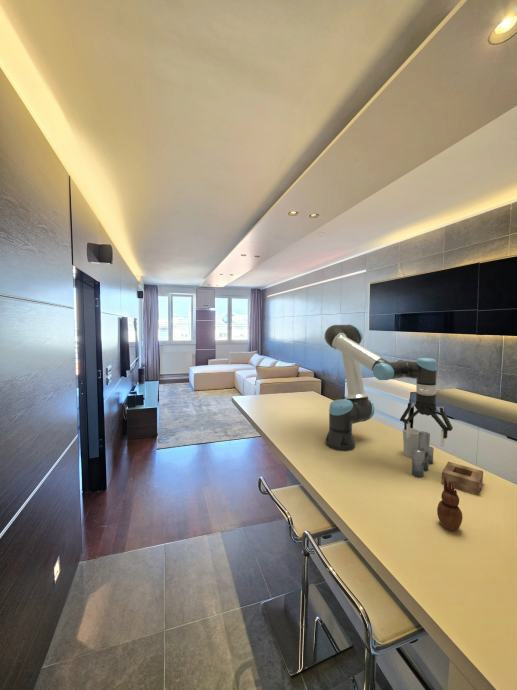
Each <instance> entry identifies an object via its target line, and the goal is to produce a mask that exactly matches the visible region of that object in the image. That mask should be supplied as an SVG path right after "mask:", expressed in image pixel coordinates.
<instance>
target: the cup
mask: <svg viewBox="0 0 517 690" xmlns="http://www.w3.org/2000/svg"><path fill="white" fill-rule="evenodd" d="M420 431H421V430H419V429H417V428H412V427H410V437H409V438H406V430H405V429H404V428H403V429H402V438H403V439H402V441H403V454H404V456H406V457H409V458H412V454H413V448H418V434H419V432H420Z"/></svg>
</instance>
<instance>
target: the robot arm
mask: <svg viewBox="0 0 517 690" xmlns="http://www.w3.org/2000/svg"><path fill="white" fill-rule="evenodd" d="M363 337H364V336H363V332H362V330H361V328H360V327H358V326H357V325H354V324H334V325H333V324H332V325H331V326H329V327H327V329H326V330H325V333H324V340H325V342H326V344H327V345H328V346H329V347H330V348H332V349H334V350H338V351H340V353H341V355H342V362H343V369H344V375H345V380H346V388H347V396H346V397H345V398H342V399H335V400H333V401H331V402H330V404H329V408H328V412H329V413H328V419H329V423H328V425H329V426H328V432H327V434H326V438H325V446H326V447H328V448H329V449H332V450H336V451H340V452H341V451H343V452H347V451H351V450H354V449H355V448H356V440H355V438H354V435H353V424H358V423H362V422H363V423H364V422H366V421H370V419H372V418H373V416H374V414H375V406H374V403H373V402H372V400H370V399H369V396H368V395H367V394H366V392H365V390H364V381H363V376H362V370H361V365H362V366H363V367H365V368H367V369H368V370H370V371H371V372H372V374H373V375H374V377H375V379H377V380H379V381H389V380H394V379H401V378H410V379H416V384H415V385H416V386H415V387H416V389H415V390H416V395H415V402H412V401H409V402H408V403H407V407H406V409H405V410H404V412H403V414H402V415H401V417H400V419H399V421H400V422H403V429H405V430H406V438H409V437H410V428H411V422H410V421H411V420H412V419H413V418H414V417H416V416H417V415H418V414H420V415H425V416H427V417H428V416H431V418H433V419H434V421H435V422H436V423H437V424H438V425H439V427H440V428H441V431H440V432H441V433H440V447H444V445H445V440H446V439H447V438H448V432H451V431H453V425H452V424H451V421H450V420H449V418H448V415H447V414H446V412H445V411H446V410H445V407H444V406H437V395H436V394H437V371H438V367H437V360H436V359H435V358H431V357H419V358H417V359H416V361H411V360H409V361H408V360H402V359H398V360H397V359H396V360H393V361H388V360H386V359H385V358H383V357H381V356H379V355H378V354H376V353H375V352H373V351H371V350H370V349H368V348H366V347H364V346H362V345H360V344H361V343H362V340H363ZM412 408H415V409H416V410H415V411H414V412H413V413H412V414H411V415H409V417H407V416H408V414H409V413H410V412H411V409H412ZM436 411H438V413H440V415H441V418H442V419H443V420H442V419H441V418H440V417H439V415H438V414H437V412H436Z"/></svg>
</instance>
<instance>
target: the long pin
mask: <svg viewBox="0 0 517 690" xmlns="http://www.w3.org/2000/svg"><path fill="white" fill-rule="evenodd" d="M419 431H420V432H419V434H418V448H421V449H423V450H424V451H425V452H424V472H427V471H429V466H430V464H429V446H430V443H431V442H430V441H431V433H429V432H427V431H422V430H419Z"/></svg>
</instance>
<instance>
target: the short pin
mask: <svg viewBox="0 0 517 690" xmlns="http://www.w3.org/2000/svg"><path fill="white" fill-rule="evenodd" d="M434 451H435V450H434V447H432V446H430V445H429V465H433V464H434Z"/></svg>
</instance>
